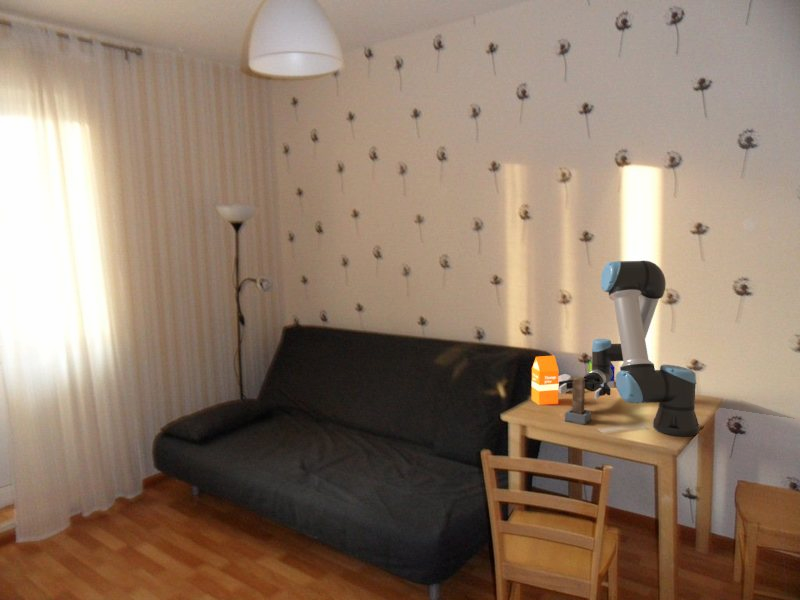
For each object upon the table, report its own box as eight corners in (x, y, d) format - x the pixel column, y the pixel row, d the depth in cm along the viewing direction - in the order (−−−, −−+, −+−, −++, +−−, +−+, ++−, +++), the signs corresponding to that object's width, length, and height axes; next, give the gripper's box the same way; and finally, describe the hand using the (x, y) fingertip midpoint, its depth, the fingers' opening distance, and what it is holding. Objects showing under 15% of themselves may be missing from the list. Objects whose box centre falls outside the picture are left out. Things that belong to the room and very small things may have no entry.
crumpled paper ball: (553, 394, 254) (565, 380, 249) (549, 381, 261) (561, 367, 256) (569, 399, 256) (580, 385, 251) (565, 386, 263) (576, 372, 258)
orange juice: (531, 399, 245) (531, 354, 242) (550, 398, 246) (550, 353, 244) (539, 405, 237) (539, 358, 235) (558, 403, 239) (559, 357, 236)
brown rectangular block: (584, 418, 217) (584, 378, 215) (581, 421, 214) (581, 380, 212) (575, 417, 219) (575, 377, 217) (572, 419, 216) (572, 379, 214)
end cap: (590, 419, 217) (591, 410, 217) (584, 424, 211) (584, 415, 211) (571, 416, 222) (571, 407, 221) (565, 421, 216) (565, 412, 215)
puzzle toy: (614, 388, 261) (614, 367, 260) (591, 387, 263) (591, 366, 262) (610, 382, 271) (610, 362, 270) (588, 381, 273) (589, 361, 272)
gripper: (625, 394, 225) (610, 407, 208) (564, 385, 239) (546, 397, 222) (625, 375, 224) (611, 388, 207) (564, 368, 239) (546, 379, 221)
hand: (577, 392), depth 215 cm, fingers open, 13 cm apart
